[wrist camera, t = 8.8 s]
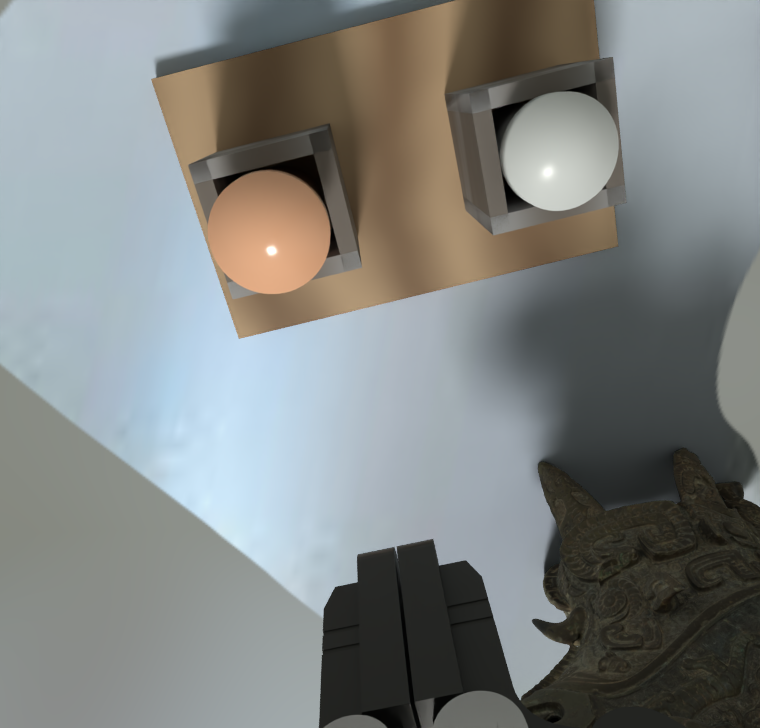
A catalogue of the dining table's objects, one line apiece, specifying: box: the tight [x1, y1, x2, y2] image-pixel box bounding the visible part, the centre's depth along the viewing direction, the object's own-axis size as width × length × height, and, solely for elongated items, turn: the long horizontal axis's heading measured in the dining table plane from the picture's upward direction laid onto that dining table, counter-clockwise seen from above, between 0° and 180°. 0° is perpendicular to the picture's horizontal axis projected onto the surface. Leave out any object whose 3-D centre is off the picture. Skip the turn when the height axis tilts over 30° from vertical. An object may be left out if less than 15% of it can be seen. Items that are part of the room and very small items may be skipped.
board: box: [151, 0, 626, 339], centre depth 32 cm, size 22×14×8 cm, turn 103°
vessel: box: [520, 448, 760, 728], centre depth 34 cm, size 11×25×24 cm, turn 100°
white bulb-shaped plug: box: [492, 91, 619, 211], centre depth 31 cm, size 5×5×8 cm
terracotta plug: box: [208, 166, 331, 294], centre depth 29 cm, size 5×5×8 cm
